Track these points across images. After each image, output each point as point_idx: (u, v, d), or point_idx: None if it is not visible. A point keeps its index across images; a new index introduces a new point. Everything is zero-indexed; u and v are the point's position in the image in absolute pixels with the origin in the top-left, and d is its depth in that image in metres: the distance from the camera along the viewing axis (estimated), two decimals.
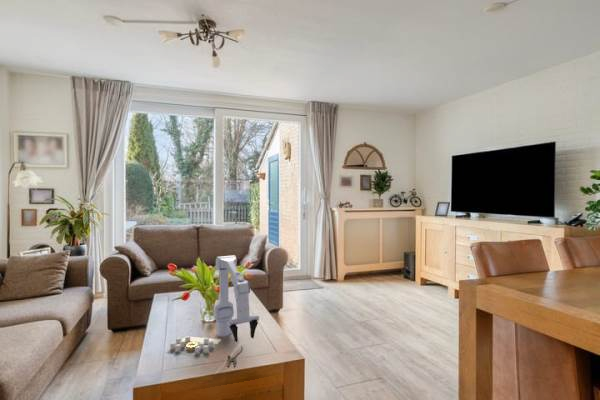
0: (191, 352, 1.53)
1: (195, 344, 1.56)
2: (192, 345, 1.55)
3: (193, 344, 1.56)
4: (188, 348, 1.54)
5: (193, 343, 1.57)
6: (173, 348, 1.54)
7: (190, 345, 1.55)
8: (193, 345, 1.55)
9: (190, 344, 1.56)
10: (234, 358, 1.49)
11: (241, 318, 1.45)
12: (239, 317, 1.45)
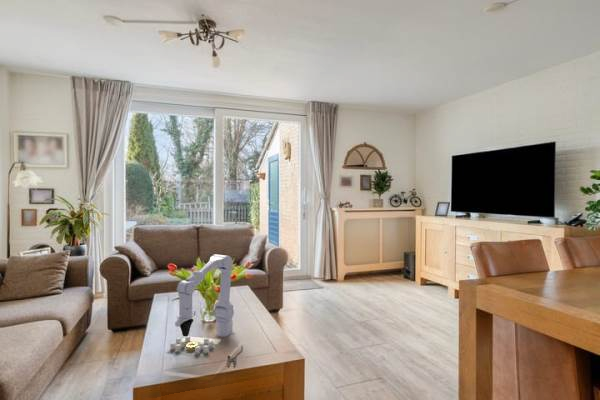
0: (191, 352, 1.53)
1: (195, 344, 1.56)
2: (192, 345, 1.55)
3: (193, 344, 1.56)
4: (188, 348, 1.54)
5: (193, 343, 1.57)
6: (173, 348, 1.54)
7: (190, 345, 1.55)
8: (193, 345, 1.55)
9: (190, 344, 1.56)
10: (234, 358, 1.49)
11: None
12: None
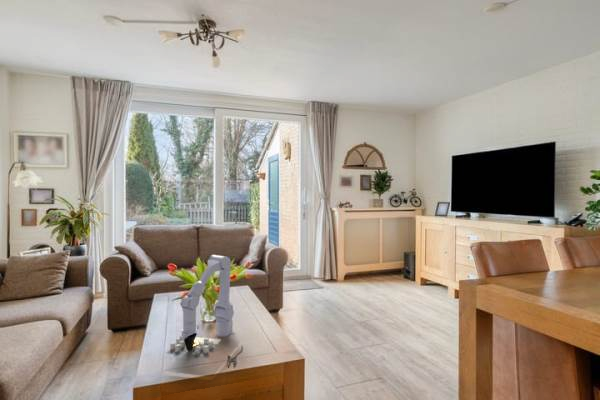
0: (191, 352, 1.53)
1: (196, 343, 1.57)
2: (193, 344, 1.56)
3: (194, 343, 1.57)
4: None
5: None
6: (173, 348, 1.54)
7: None
8: (194, 344, 1.56)
9: None
10: (234, 358, 1.49)
11: None
12: None
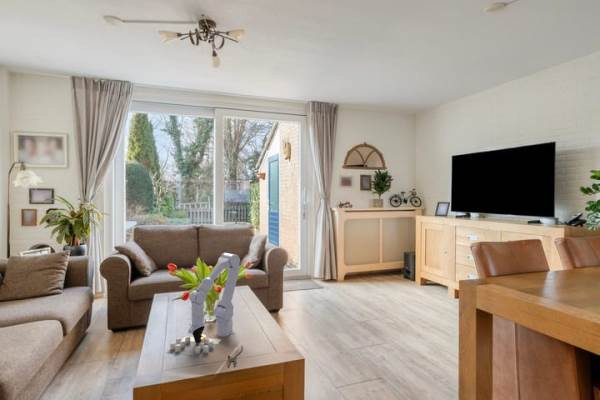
0: (191, 352, 1.53)
1: (204, 336, 1.65)
2: (201, 337, 1.64)
3: (202, 336, 1.65)
4: None
5: (201, 335, 1.66)
6: (173, 348, 1.54)
7: None
8: (202, 337, 1.64)
9: None
10: (234, 358, 1.49)
11: None
12: None
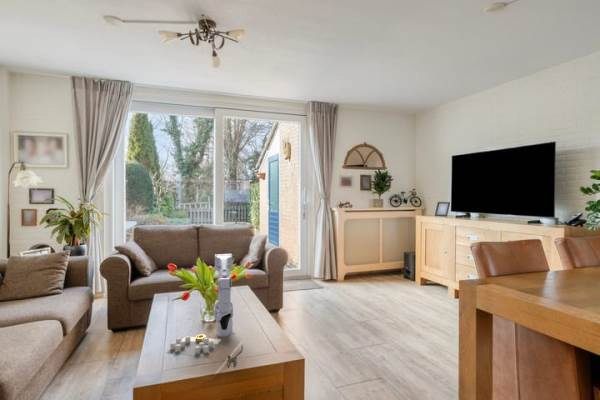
0: (191, 352, 1.53)
1: (204, 336, 1.65)
2: (201, 337, 1.64)
3: (202, 336, 1.65)
4: (197, 340, 1.63)
5: (201, 335, 1.66)
6: (173, 348, 1.54)
7: (199, 337, 1.64)
8: (202, 337, 1.64)
9: (199, 336, 1.65)
10: (234, 358, 1.49)
11: None
12: None
